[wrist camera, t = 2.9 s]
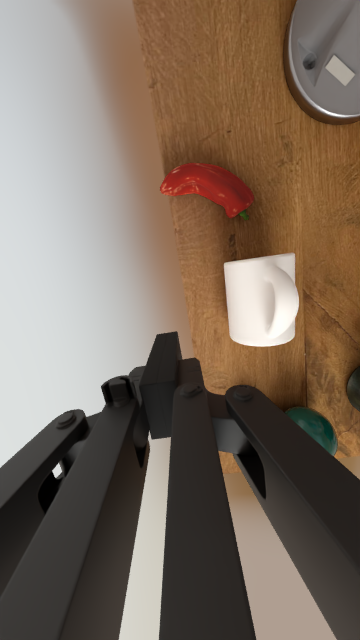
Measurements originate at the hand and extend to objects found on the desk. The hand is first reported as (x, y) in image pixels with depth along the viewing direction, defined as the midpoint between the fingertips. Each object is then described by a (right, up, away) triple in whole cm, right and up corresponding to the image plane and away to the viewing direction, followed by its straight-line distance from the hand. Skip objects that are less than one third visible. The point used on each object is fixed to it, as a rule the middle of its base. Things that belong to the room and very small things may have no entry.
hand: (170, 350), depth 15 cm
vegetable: (+10, +16, +11) cm, 22 cm away
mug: (+11, +6, +16) cm, 21 cm away
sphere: (+21, -15, +21) cm, 33 cm away
